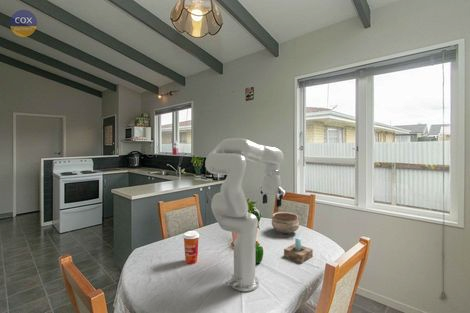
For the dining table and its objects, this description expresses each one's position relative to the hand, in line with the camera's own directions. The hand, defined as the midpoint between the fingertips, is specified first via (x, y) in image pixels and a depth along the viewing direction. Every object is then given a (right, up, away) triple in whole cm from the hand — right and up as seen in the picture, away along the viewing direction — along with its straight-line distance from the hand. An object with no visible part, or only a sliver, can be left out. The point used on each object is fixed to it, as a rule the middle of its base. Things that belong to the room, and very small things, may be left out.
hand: (271, 204), depth 130 cm
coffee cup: (-43, -29, -5) cm, 52 cm away
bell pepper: (-9, -29, -5) cm, 31 cm away
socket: (+15, -29, +1) cm, 32 cm away
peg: (+15, -29, +1) cm, 32 cm away
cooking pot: (+15, -27, +37) cm, 49 cm away
